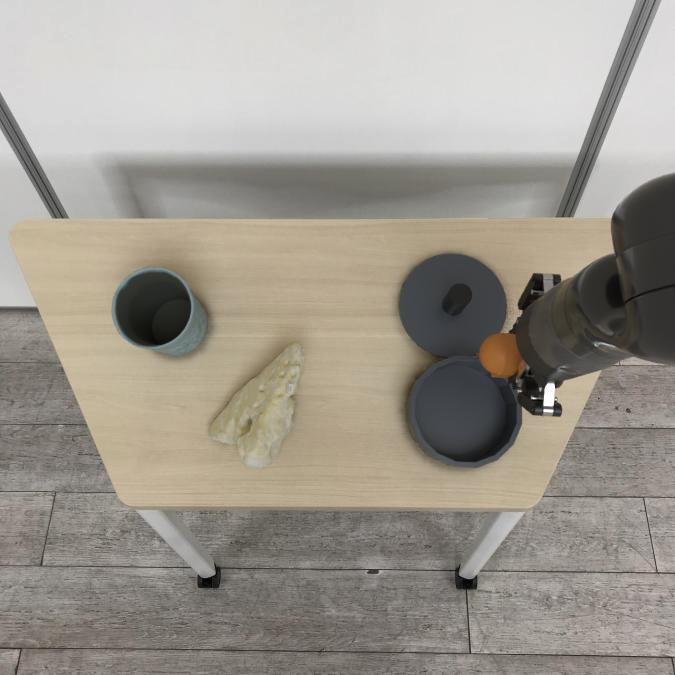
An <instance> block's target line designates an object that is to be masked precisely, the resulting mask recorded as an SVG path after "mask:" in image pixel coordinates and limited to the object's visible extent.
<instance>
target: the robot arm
mask: <svg viewBox="0 0 675 675" xmlns="http://www.w3.org/2000/svg"><path fill="white" fill-rule="evenodd" d="M610 235H611V243H612V248H613V252H612V253H608V254H606V255H603V256H600V257H598V258H597V259H595V260H594V261H591V262H590V263H589V264H587V265H586V266H584V267H583V268H582V269H581V270H579V271H578V272H577V273H575V274H574V275H573V276H570V277H567V278H566V279H563V280H562V276H561V274H560V273H547V272H546V273H545V272H533V273H532V275H531V277H530V278H529V280H528V282H527V284H526V285H525V288H524V290H523V292H521V295H520V297H519V299H518V302H517V309H518V310H519V311H522V312H521V315H520V316H517V317H516V320H515V323H513V324H512V328H511V329H509V330H508V333H513V334H516V344H517V348H518V351H519V353H520V355H521V357H522V360H521V362H520V363H519V365H518V374H515V375H513V376H510V377H508V384H512V389H513V390H517V391H518V396H517V400H518V404H519V405H521V406H522V409H524V410H525V411H527V412H528V413H529V414H530V415H531V416H535V417H537V416H538V417H555V418H561V417H562V415H563V406H562V404H561V403H560V402H559V401H558V400H559V399H558V396H555V394H556V390H557V389H559V388H560V387H562V385H563V384H564V382H565V381H569V380H573V379H575V378H576V379H577V378H579V377H583V376H586V375H589V374H592V373H593V374H594V373H596V372H599V371H604V370H606V369H609V368H611V367H613V366H614V365H617V364H619V363H620V362H621V361H625V360H627V359H630V358H636V359H640V360H642V361H647V362H650V363H654V364H659V365H664V366H670V367H675V171H674V172H670V173H666V174H662V175H660V176H656V177H654V178H651V179H650V180H648V181H646V182H644V183H642V184H640V185H638V186H637V187H636V188H634V189H633V190H632V191H631V192H629V193H628V194H627V195H625V196H624V197H623V199H622V200H621V201H620V202H619V203H618V204H617V206H616V207H615V209H614V211H613V212H612V216H611V219H610Z"/></svg>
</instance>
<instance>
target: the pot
mask: <svg viewBox="0 0 675 675" xmlns="http://www.w3.org/2000/svg"><path fill="white" fill-rule="evenodd" d="M518 393H519V390H513V389H512V384H508V378H498V377H491V373H490V372H489V371H487V370H486V369H485V368H484V367H483V365H482V364H481V361H480V358H479V355H473V356H464V355H455V356H452V357H449V358H443V359H441V360H438V361H436V362H434V363H433V364H432V365H431V366H430V367H429V368H428V369H427V370H425V371H424V373H422V374H421V375H420V376H419V377H418V378H417V379H416V380H415V381H414V384H413V385H412V388H411V390H410V392H409V394H408V396H407V399H406V409H405V411H406V412H405V413H406V414H405V415H406V416H405V417H406V424H407V427H408V429H409V432H410V434H411V438H412V439H413V442H414V443H415V444H416V445H417V446H418V447H419V448H420V449H421V450H422V452H424V453H425V454H426V455H427V456H428V457H429V458H431V459H433V460H436V462H438V463H439V462H440V463H442V464H444V465H446V466H449V467H450V466H451V467H454V468H472V469H476V468H481V467H483V466H485V465H489V464H491V463H494V462H496V461H499V460H500V459H501V458H502V457H503V456H504V455H505V454H506V453H507V452H508V451H509V450H510V449H511V448H512V447H513V446H514V445H515V443H516V440H517V438H518V435H519V433H520V431H521V428H522V425H523V407H522V406H521V405H519V404H518V400H517V396H518Z"/></svg>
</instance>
